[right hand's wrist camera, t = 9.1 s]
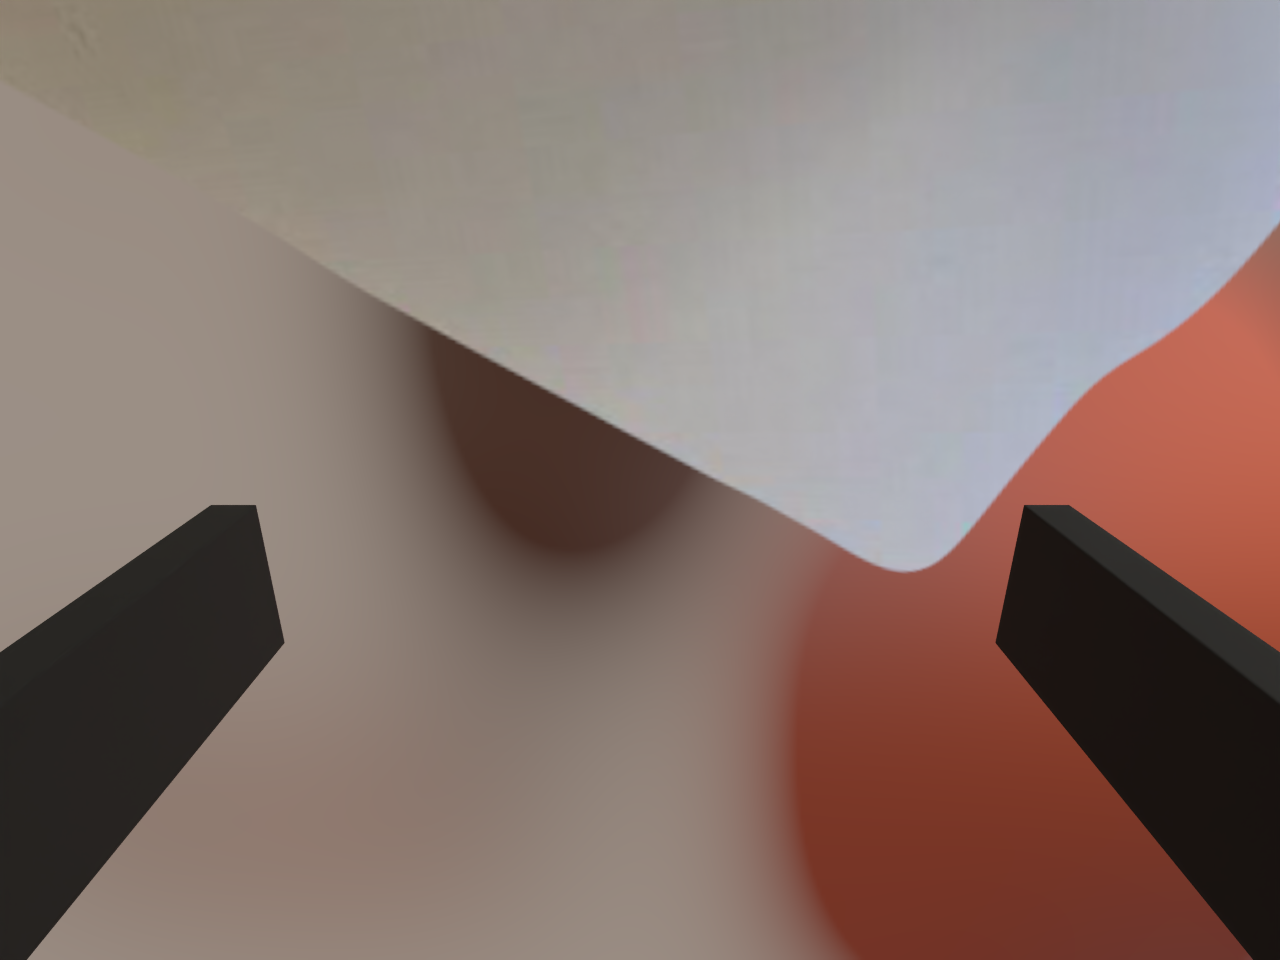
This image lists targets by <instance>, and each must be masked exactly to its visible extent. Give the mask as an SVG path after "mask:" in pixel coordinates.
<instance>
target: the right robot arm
mask: <svg viewBox="0 0 1280 960" xmlns="http://www.w3.org/2000/svg"><path fill="white" fill-rule="evenodd" d="M283 644H284V638H283V633H282V629H281V624H280V619H279V614H278V609H277V605H276V600H275V595H274V590H273V585H272V581H271V576H270V571H269V566H268V561H267V557H266V552H265V547H264V542H263V537H262V533H261V528H260V523H259V518H258V513H257V509H256V505H211V506H209V507H208V508H206V509H205V510H203V511H202V512H201V513H199V514H198V515H196V516H195V517H193V518H192V519H190V520H189V521H188V522H186V523H185V524H183V525H182V526H180V527H179V528H178V529H176V530H175V531H173V532H172V533H170V534H169V535H168V536H166V537H165V538H163V539H162V540H160V541H159V542H158V543H156V544H155V545H153V546H152V547H150V548H149V549H148V550H146V551H145V552H143V553H142V554H140V555H139V556H137V557H136V558H135V559H133V560H132V561H130V562H129V563H127V564H126V565H125V566H123V567H122V568H120V569H119V570H117V571H116V572H115V573H113V574H112V575H110V576H109V577H107V578H106V579H105V580H103V581H102V582H100V583H99V584H97V585H96V586H95V587H93V588H92V589H90V590H89V591H87V592H86V593H85V594H83V595H82V596H80V597H79V598H77V599H76V600H74V601H73V602H72V603H70V604H69V605H67V606H66V607H65V608H63V609H62V610H60V611H59V612H57V613H56V614H54V615H53V616H52V617H50V618H49V619H47V620H46V621H44V622H43V623H42V624H40V625H39V626H37V627H36V628H34V629H33V630H32V631H30V632H29V633H27V634H26V635H24V636H23V637H21V638H20V639H19V640H17V641H16V642H14V643H13V644H11V645H10V646H9V647H7V648H6V649H4V650H3V651H2V652H0V960H27V959H28V957H29V956H30V955H31V954H32V953H33V951H34V950H35V949H36V948H37V946H38V945H39V944H40V943H41V942H42V940H43V939H44V938H45V937H46V935H47V934H48V933H49V932H50V930H51V929H52V928H53V927H54V926H55V924H56V923H57V922H58V921H59V919H60V918H61V917H62V916H63V914H64V913H65V912H66V911H67V909H68V908H69V907H70V906H71V905H72V903H73V902H74V901H75V900H76V898H77V897H78V896H79V895H80V894H81V892H82V891H83V890H84V889H85V887H86V886H87V885H88V884H89V883H90V881H91V880H92V879H93V878H94V876H95V875H96V874H97V873H98V871H99V870H100V869H101V868H102V867H103V865H104V864H105V863H106V862H107V860H108V859H109V858H110V857H111V855H112V854H113V853H114V852H115V851H116V849H117V848H118V847H119V846H120V844H121V843H122V842H123V841H124V839H125V838H126V837H127V836H128V835H129V833H130V832H131V831H132V830H133V828H134V827H135V826H136V825H137V823H138V822H139V821H140V820H141V819H142V817H143V816H144V815H145V814H146V812H147V811H148V810H149V809H150V808H151V806H152V805H153V804H154V802H155V801H156V800H157V799H158V798H159V796H160V795H161V794H162V793H163V792H164V790H165V789H166V788H167V787H168V785H169V784H170V783H171V782H172V780H173V779H174V778H175V777H176V776H177V774H178V773H179V772H180V771H181V769H182V768H183V767H184V766H185V764H186V763H187V762H188V761H189V759H190V758H191V757H192V756H193V755H194V753H195V752H196V751H197V750H198V748H199V747H200V746H201V745H202V744H203V742H204V741H205V740H206V739H207V737H208V736H209V735H210V734H211V732H212V731H213V730H214V729H215V728H216V726H217V725H218V724H219V723H220V721H221V720H222V719H223V718H224V716H225V715H226V714H227V713H228V712H229V710H230V709H231V708H232V707H233V705H234V704H235V703H236V702H237V701H238V699H239V698H240V697H241V696H242V694H243V693H244V692H245V691H246V689H247V688H248V687H249V686H250V685H251V683H252V682H253V681H254V680H255V678H256V677H257V676H258V675H259V673H260V672H261V671H262V670H263V669H264V667H265V666H266V665H267V664H268V662H269V661H270V660H271V659H272V657H273V656H274V655H275V654H276V653H277V651H278V650H279V649H280V648H281V646H282V645H283ZM996 644H997V645H998V646H999V648H1000V649H1001V650H1002V651H1003V653H1004V654H1005V655H1006V656H1007V657H1008V659H1009V660H1010V661H1011V662H1012V664H1013V665H1014V666H1015V667H1016V669H1017V670H1018V671H1019V672H1020V673H1021V675H1022V676H1023V677H1024V678H1025V680H1026V681H1027V682H1028V683H1029V685H1030V686H1031V687H1032V688H1033V689H1034V691H1035V692H1036V693H1037V694H1038V696H1039V697H1040V698H1041V699H1042V701H1043V702H1044V703H1045V704H1046V705H1047V707H1048V708H1049V709H1050V710H1051V712H1052V713H1053V714H1054V715H1055V716H1056V718H1057V719H1058V720H1059V721H1060V723H1061V724H1062V725H1063V726H1064V728H1065V729H1066V730H1067V731H1068V732H1069V734H1070V735H1071V736H1072V737H1073V739H1074V740H1075V741H1076V742H1077V744H1078V745H1079V746H1080V747H1081V748H1082V750H1083V751H1084V752H1085V753H1086V755H1087V756H1088V757H1089V758H1090V760H1091V761H1092V762H1093V763H1094V764H1095V766H1096V767H1097V768H1098V769H1099V771H1100V772H1101V773H1102V774H1103V775H1104V777H1105V778H1106V779H1107V780H1108V782H1109V783H1110V784H1111V785H1112V787H1113V788H1114V789H1115V790H1116V791H1117V793H1118V794H1119V795H1120V796H1121V798H1122V799H1123V800H1124V801H1125V803H1126V804H1127V805H1128V806H1129V808H1130V809H1131V810H1132V811H1133V812H1134V814H1135V815H1136V816H1137V817H1138V818H1139V820H1140V821H1141V822H1142V823H1143V825H1144V826H1145V827H1146V828H1147V829H1148V831H1149V832H1150V833H1151V835H1152V836H1153V837H1154V838H1155V839H1156V841H1157V842H1158V843H1159V844H1160V846H1161V847H1162V848H1163V849H1164V851H1165V852H1166V853H1167V854H1168V855H1169V857H1170V858H1171V859H1172V860H1173V862H1174V863H1175V864H1176V865H1177V866H1178V868H1179V869H1180V870H1181V871H1182V873H1183V874H1184V875H1185V876H1186V878H1187V879H1188V880H1189V881H1190V883H1191V884H1192V885H1193V886H1194V887H1195V889H1196V890H1197V891H1198V892H1199V894H1200V895H1201V896H1202V897H1203V899H1204V900H1205V901H1206V902H1207V903H1208V905H1209V906H1210V907H1211V908H1212V910H1213V911H1214V912H1215V913H1216V914H1217V916H1218V917H1219V918H1220V919H1221V921H1222V922H1223V923H1224V924H1225V926H1226V927H1227V928H1228V929H1229V930H1230V932H1231V933H1232V934H1233V935H1234V937H1235V938H1236V939H1237V940H1238V941H1239V943H1240V944H1241V945H1242V946H1243V948H1244V949H1245V950H1246V951H1247V953H1248V954H1249V955H1250V956H1251V958H1252V959H1253V960H1280V652H1279V651H1277V650H1276V649H1274V648H1273V647H1271V646H1270V645H1269V644H1267V643H1266V642H1264V641H1263V640H1261V639H1260V638H1259V637H1257V636H1256V635H1254V634H1253V633H1251V632H1250V631H1248V630H1247V629H1246V628H1244V627H1243V626H1241V625H1240V624H1238V623H1237V622H1236V621H1234V620H1233V619H1231V618H1230V617H1228V616H1227V615H1226V614H1224V613H1223V612H1221V611H1220V610H1218V609H1217V608H1216V607H1214V606H1213V605H1211V604H1210V603H1208V602H1207V601H1206V600H1204V599H1203V598H1201V597H1200V596H1198V595H1197V594H1195V593H1194V592H1193V591H1191V590H1190V589H1188V588H1187V587H1185V586H1184V585H1183V584H1181V583H1180V582H1178V581H1177V580H1175V579H1174V578H1172V577H1171V576H1170V575H1168V574H1167V573H1165V572H1164V571H1163V570H1161V569H1160V568H1158V567H1157V566H1155V565H1154V564H1153V563H1151V562H1150V561H1148V560H1147V559H1145V558H1144V557H1142V556H1141V555H1140V554H1138V553H1137V552H1135V551H1134V550H1132V549H1131V548H1130V547H1128V546H1127V545H1125V544H1124V543H1122V542H1121V541H1120V540H1118V539H1117V538H1115V537H1114V536H1112V535H1111V534H1110V533H1108V532H1107V531H1105V530H1104V529H1102V528H1101V527H1100V526H1098V525H1097V524H1095V523H1094V522H1092V521H1091V520H1089V519H1088V518H1087V517H1085V516H1084V515H1082V514H1081V513H1079V512H1078V511H1077V510H1075V509H1074V508H1072V507H1071V506H1069V505H1024V508H1023V513H1022V518H1021V523H1020V528H1019V532H1018V537H1017V542H1016V547H1015V552H1014V556H1013V562H1012V566H1011V571H1010V576H1009V580H1008V585H1007V590H1006V595H1005V600H1004V605H1003V610H1002V614H1001V619H1000V624H999V629H998V633H997V638H996Z"/></svg>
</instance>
